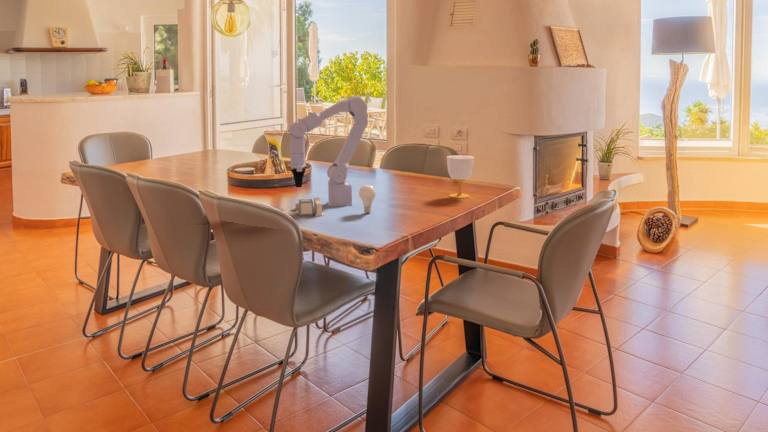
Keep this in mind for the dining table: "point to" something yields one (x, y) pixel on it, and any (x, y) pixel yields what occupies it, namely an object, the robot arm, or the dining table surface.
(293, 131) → the robot arm
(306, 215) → the pad
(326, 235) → the dining table surface
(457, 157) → the cup
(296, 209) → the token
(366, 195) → the lightbulb
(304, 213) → the blue-grey cube
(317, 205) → the tan rectangular block
